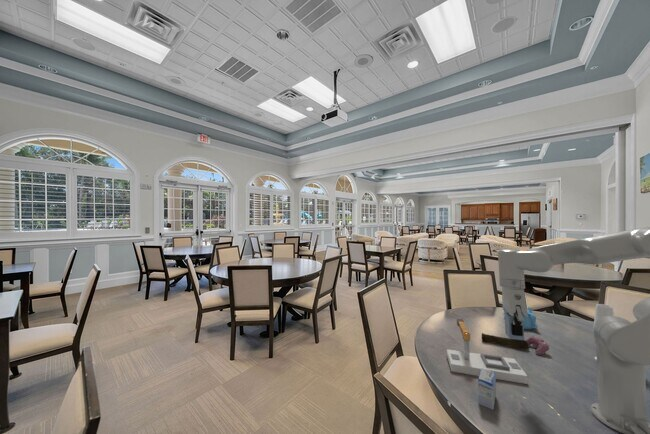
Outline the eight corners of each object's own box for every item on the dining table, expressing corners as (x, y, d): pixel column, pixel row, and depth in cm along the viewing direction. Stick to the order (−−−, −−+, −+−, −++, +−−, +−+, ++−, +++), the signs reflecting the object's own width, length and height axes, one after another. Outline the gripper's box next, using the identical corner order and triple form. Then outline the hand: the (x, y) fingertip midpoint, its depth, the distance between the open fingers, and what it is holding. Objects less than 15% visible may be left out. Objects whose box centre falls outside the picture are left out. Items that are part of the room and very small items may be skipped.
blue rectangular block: (524, 340, 87) (523, 317, 87) (509, 338, 88) (508, 316, 89) (519, 334, 91) (518, 313, 91) (505, 333, 92) (504, 312, 93)
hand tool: (481, 342, 123) (481, 333, 123) (481, 339, 127) (481, 330, 127) (529, 353, 113) (529, 343, 113) (528, 349, 116) (528, 339, 116)
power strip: (527, 384, 92) (527, 354, 92) (451, 371, 100) (450, 344, 100) (514, 365, 103) (513, 339, 103) (446, 355, 111) (446, 331, 112)
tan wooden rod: (463, 324, 118) (462, 319, 118) (471, 341, 102) (470, 335, 102) (456, 323, 119) (456, 318, 119) (463, 340, 103) (463, 334, 103)
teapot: (497, 317, 153) (497, 300, 153) (531, 322, 146) (531, 303, 146) (504, 327, 139) (504, 308, 139) (542, 333, 132) (542, 312, 132)
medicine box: (481, 391, 88) (480, 367, 88) (496, 396, 85) (495, 372, 86) (478, 404, 82) (477, 378, 82) (494, 410, 79) (493, 384, 80)
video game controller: (545, 359, 110) (553, 346, 110) (535, 354, 111) (543, 341, 110) (531, 348, 120) (537, 335, 119) (521, 343, 121) (528, 331, 120)
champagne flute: (611, 366, 101) (610, 309, 102) (590, 358, 108) (588, 304, 108) (621, 363, 103) (620, 307, 104) (600, 355, 110) (598, 302, 110)
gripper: (534, 289, 81) (537, 344, 80) (515, 278, 97) (517, 324, 96) (507, 288, 84) (510, 341, 83) (493, 277, 99) (495, 322, 99)
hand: (514, 331), depth 90 cm, fingers closed on blue rectangular block, 4 cm apart
